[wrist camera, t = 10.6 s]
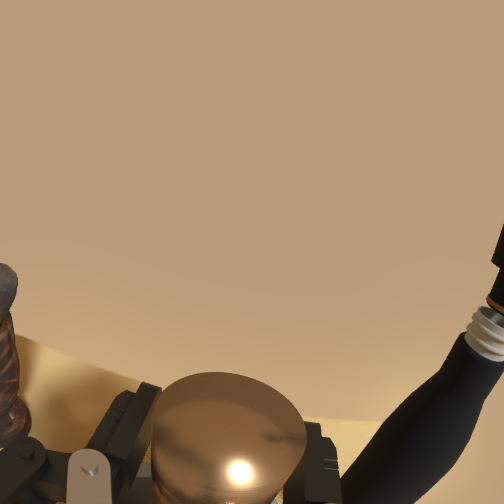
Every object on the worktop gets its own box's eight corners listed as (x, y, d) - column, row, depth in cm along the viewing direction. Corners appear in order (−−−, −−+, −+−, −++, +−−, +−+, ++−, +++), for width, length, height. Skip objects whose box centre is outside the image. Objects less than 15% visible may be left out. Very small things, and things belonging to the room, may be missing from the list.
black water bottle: (296, 543, 19) (518, 200, 9) (314, 494, 25) (475, 191, 15) (359, 557, 17) (603, 251, 8) (370, 508, 23) (550, 228, 13)
